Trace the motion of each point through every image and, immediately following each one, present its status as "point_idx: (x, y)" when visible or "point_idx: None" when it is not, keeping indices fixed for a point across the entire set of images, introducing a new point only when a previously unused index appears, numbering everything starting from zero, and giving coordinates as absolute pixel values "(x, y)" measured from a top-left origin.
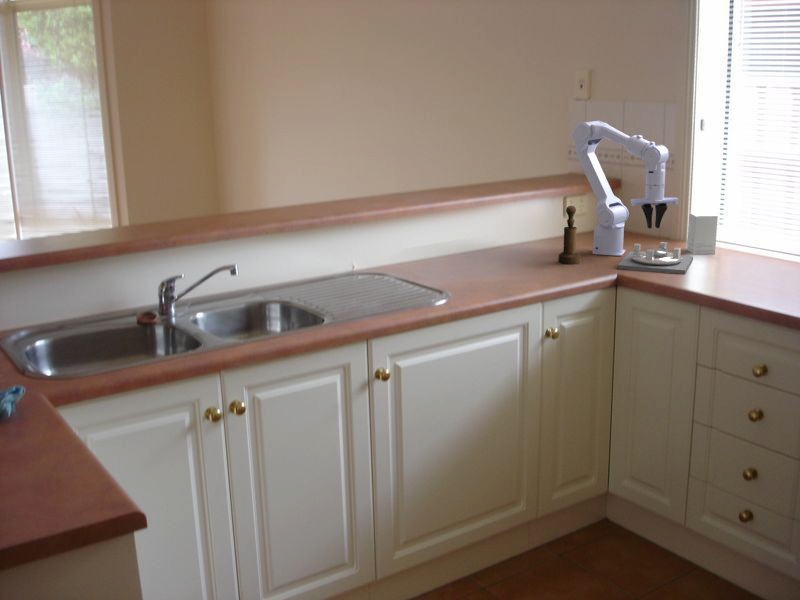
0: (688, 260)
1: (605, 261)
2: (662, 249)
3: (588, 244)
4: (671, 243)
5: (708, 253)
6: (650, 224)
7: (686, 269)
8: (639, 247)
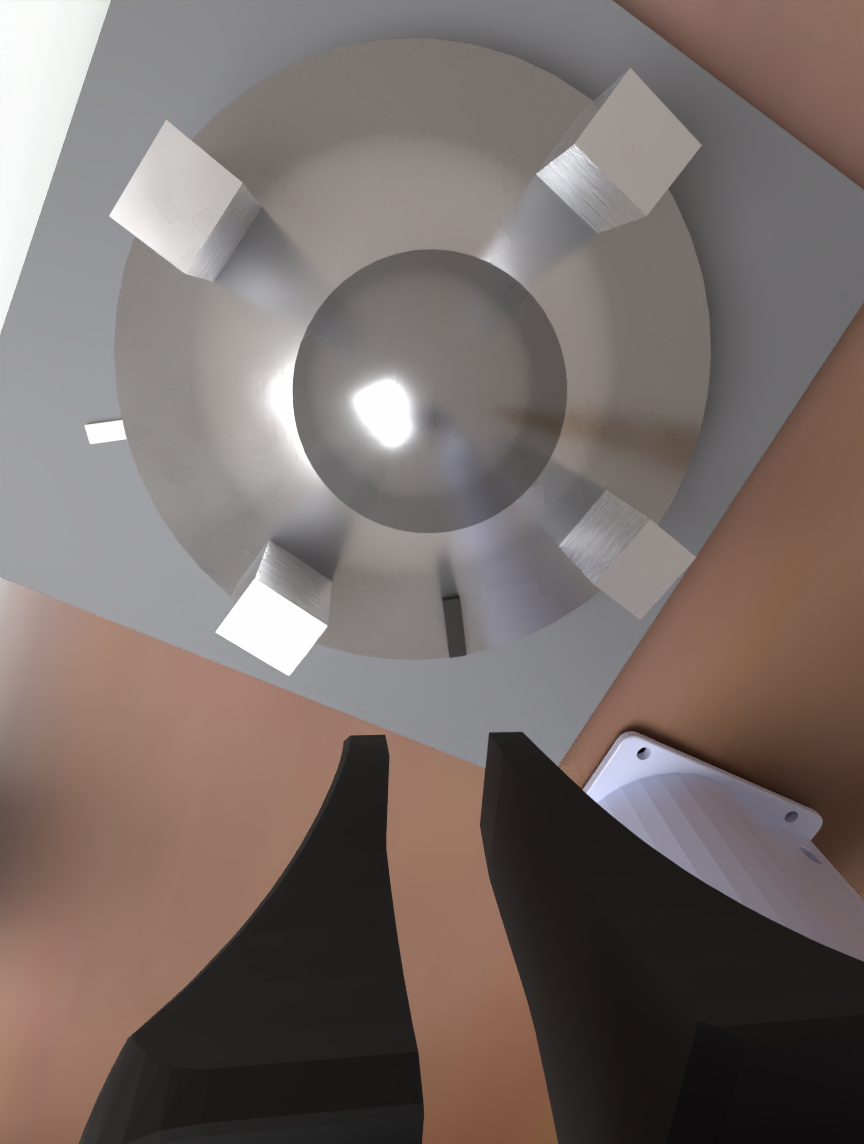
0: (32, 334)
1: (834, 567)
2: (331, 472)
3: None
4: (39, 1119)
5: None
6: (536, 760)
7: None
8: (613, 535)
